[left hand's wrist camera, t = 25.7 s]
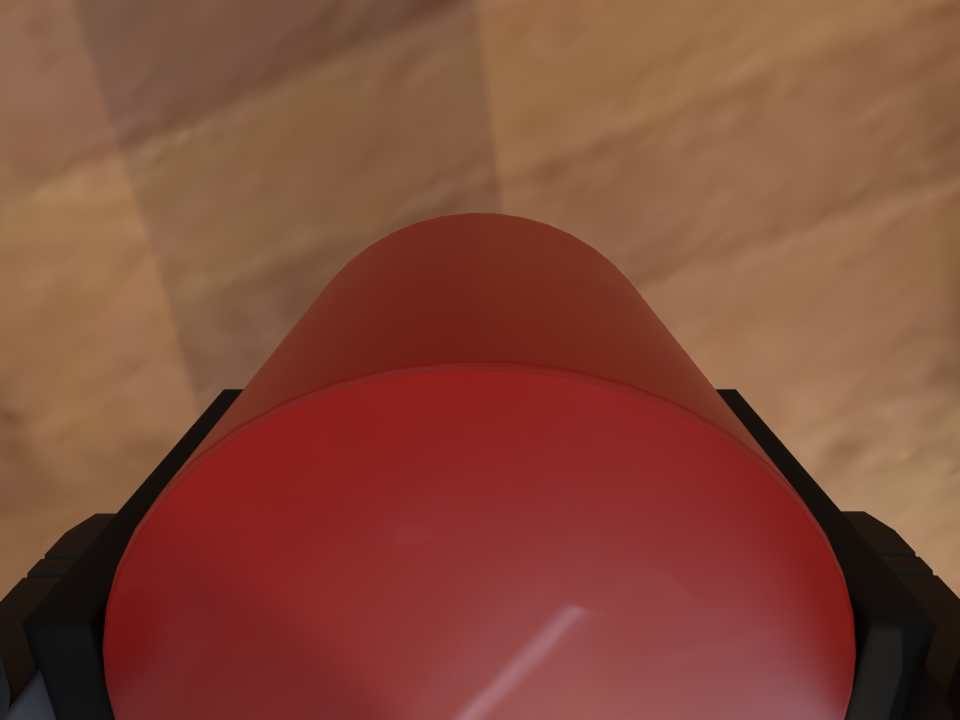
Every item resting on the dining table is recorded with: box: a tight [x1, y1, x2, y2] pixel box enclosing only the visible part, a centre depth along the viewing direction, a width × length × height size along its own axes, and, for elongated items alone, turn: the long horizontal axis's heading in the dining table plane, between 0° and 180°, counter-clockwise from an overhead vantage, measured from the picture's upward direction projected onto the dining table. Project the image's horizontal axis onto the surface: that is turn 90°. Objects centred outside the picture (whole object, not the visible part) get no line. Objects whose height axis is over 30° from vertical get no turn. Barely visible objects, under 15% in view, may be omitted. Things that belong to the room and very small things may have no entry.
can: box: [103, 213, 856, 720], centre depth 12 cm, size 9×9×9 cm
